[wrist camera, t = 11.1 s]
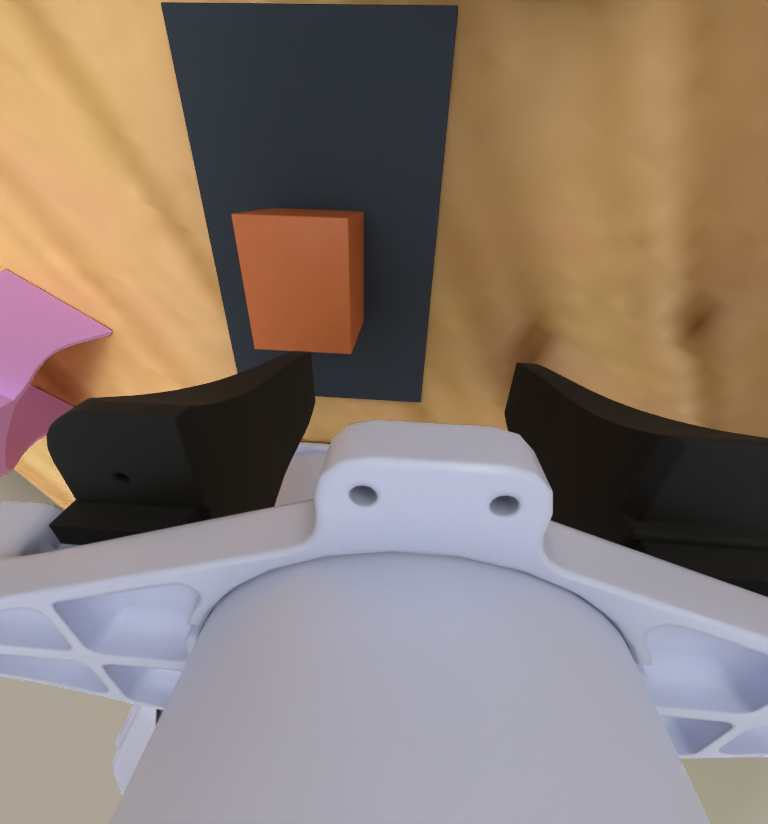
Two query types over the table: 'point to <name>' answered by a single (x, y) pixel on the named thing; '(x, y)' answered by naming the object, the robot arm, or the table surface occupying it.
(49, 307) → the toy chair
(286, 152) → the back mat
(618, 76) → the table surface
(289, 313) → the orange box
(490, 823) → the robot arm
